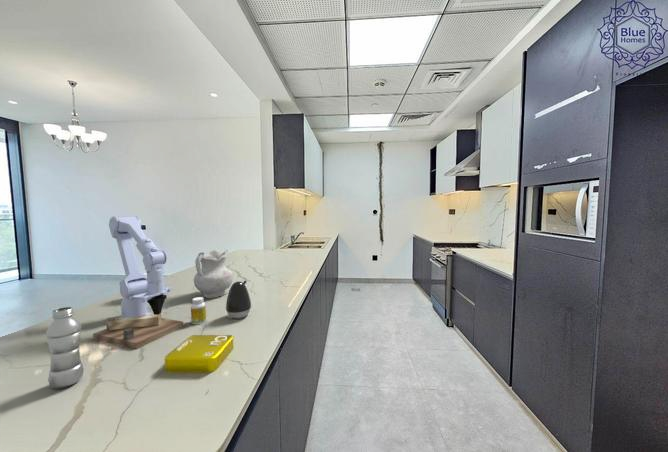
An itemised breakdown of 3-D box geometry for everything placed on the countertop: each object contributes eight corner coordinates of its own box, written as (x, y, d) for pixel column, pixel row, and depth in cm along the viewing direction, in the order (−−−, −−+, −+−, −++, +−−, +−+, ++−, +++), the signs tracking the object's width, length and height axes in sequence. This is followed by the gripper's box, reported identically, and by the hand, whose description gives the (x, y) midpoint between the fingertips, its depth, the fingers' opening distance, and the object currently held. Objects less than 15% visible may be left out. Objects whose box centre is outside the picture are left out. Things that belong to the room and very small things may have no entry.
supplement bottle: (200, 325, 106) (199, 301, 106) (188, 324, 107) (187, 300, 107) (208, 319, 111) (208, 296, 111) (197, 318, 112) (196, 296, 112)
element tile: (191, 346, 90) (191, 333, 90) (235, 347, 89) (235, 333, 89) (161, 373, 75) (161, 357, 75) (214, 374, 74) (213, 357, 74)
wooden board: (93, 339, 95) (92, 325, 95) (143, 319, 112) (143, 308, 112) (136, 348, 88) (135, 334, 88) (183, 326, 105) (183, 314, 105)
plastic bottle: (64, 377, 73) (60, 305, 72) (91, 375, 74) (86, 304, 72) (40, 393, 67) (35, 314, 65) (69, 391, 67) (65, 313, 66)
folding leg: (104, 330, 97) (104, 320, 96) (109, 327, 100) (108, 317, 99) (158, 324, 101) (158, 315, 101) (161, 321, 104) (161, 312, 104)
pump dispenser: (256, 313, 118) (255, 279, 117) (241, 322, 108) (240, 285, 107) (237, 310, 121) (236, 277, 121) (220, 319, 112) (219, 283, 111)
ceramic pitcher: (220, 304, 134) (223, 254, 132) (182, 301, 134) (184, 252, 133) (237, 291, 155) (239, 249, 154) (204, 289, 155) (206, 246, 154)
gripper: (151, 286, 100) (153, 321, 101) (177, 276, 114) (178, 307, 115) (133, 285, 100) (135, 321, 101) (161, 276, 115) (162, 307, 116)
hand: (157, 314), depth 108 cm, fingers closed
